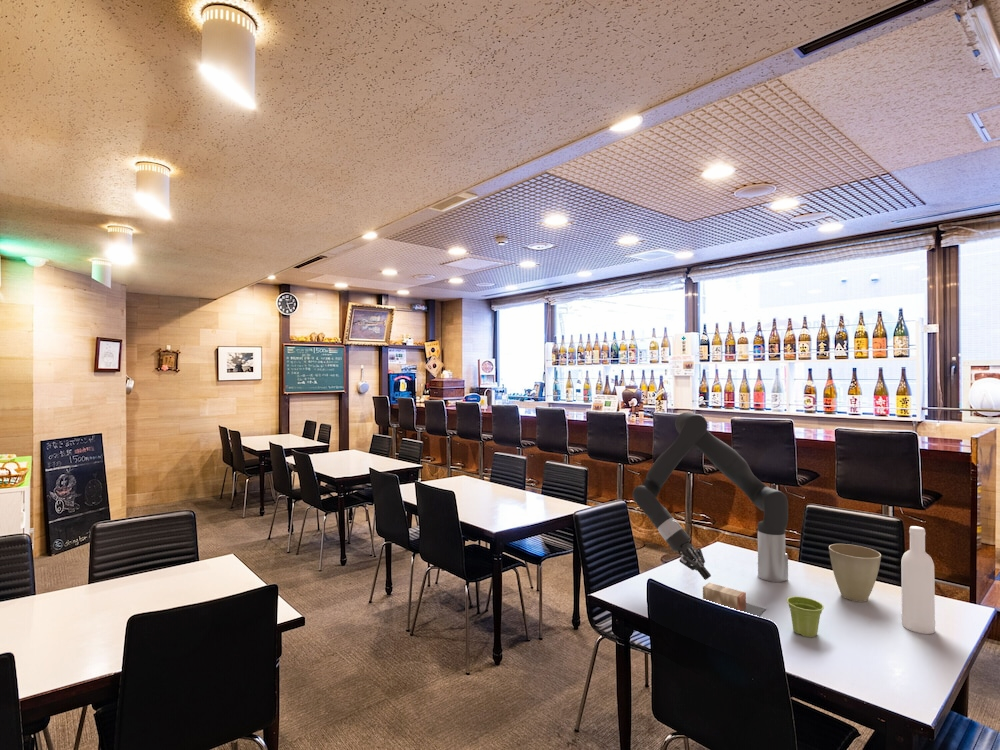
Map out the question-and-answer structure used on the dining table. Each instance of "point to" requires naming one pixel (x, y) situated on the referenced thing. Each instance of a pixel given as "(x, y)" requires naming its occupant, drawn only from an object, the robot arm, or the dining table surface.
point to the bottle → (918, 585)
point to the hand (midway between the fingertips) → (708, 577)
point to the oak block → (725, 596)
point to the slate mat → (754, 609)
